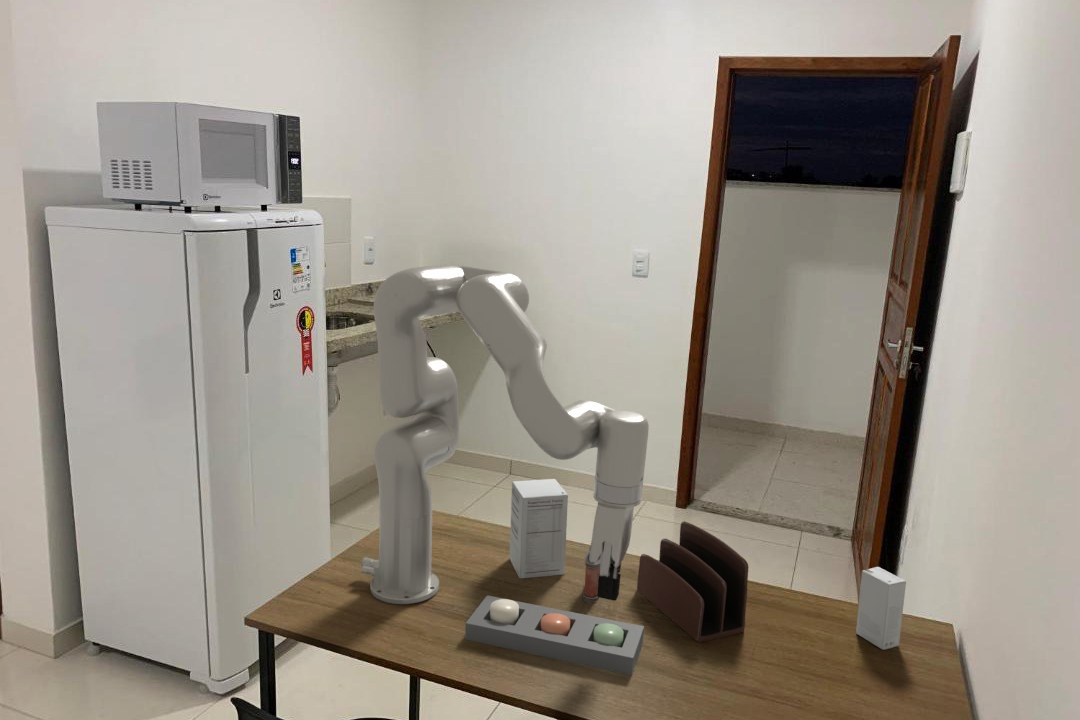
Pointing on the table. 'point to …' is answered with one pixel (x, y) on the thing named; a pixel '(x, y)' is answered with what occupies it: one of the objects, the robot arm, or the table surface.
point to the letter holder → (697, 584)
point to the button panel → (557, 637)
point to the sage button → (608, 635)
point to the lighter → (591, 579)
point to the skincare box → (880, 607)
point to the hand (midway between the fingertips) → (607, 596)
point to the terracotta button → (555, 624)
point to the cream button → (504, 611)
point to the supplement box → (538, 528)
